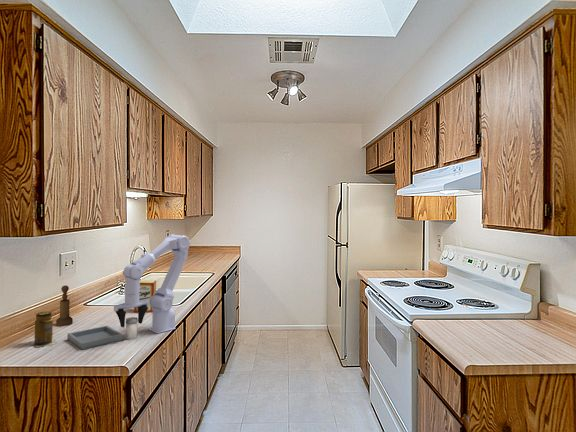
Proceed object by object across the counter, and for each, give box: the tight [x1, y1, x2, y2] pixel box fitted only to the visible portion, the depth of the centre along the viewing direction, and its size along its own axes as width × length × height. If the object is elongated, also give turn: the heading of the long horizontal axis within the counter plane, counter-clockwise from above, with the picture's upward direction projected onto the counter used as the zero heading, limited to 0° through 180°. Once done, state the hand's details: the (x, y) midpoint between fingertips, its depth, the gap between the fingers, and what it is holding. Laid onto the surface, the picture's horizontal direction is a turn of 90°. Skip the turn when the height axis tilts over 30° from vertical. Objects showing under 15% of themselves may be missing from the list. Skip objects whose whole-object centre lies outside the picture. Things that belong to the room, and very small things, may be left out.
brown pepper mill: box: [55, 285, 74, 327], centre depth 177 cm, size 7×6×18 cm
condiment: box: [30, 311, 58, 348], centre depth 153 cm, size 7×8×12 cm
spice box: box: [133, 279, 157, 314], centre depth 203 cm, size 10×6×16 cm
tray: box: [67, 325, 124, 351], centre depth 158 cm, size 16×16×2 cm
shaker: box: [125, 316, 138, 340], centre depth 162 cm, size 5×5×8 cm
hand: (131, 324), depth 162 cm, fingers open, 7 cm apart
